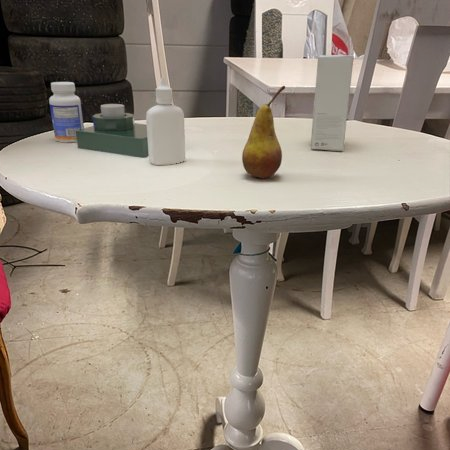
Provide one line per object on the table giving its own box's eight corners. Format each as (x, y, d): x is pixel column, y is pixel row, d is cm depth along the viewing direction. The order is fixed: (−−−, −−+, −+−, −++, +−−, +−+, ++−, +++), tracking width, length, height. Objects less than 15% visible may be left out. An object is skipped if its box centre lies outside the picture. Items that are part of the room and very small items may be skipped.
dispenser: (77, 148, 81) (73, 117, 79) (118, 137, 90) (115, 109, 87) (143, 157, 76) (140, 125, 73) (179, 145, 84) (178, 116, 82)
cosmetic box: (343, 152, 81) (356, 55, 74) (308, 150, 82) (317, 54, 75) (342, 142, 88) (354, 53, 81) (310, 140, 89) (319, 53, 82)
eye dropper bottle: (150, 159, 75) (145, 76, 69) (185, 159, 75) (183, 76, 69) (148, 165, 71) (142, 79, 65) (185, 165, 72) (182, 79, 66)
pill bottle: (62, 136, 90) (53, 80, 85) (89, 137, 89) (82, 81, 84) (50, 142, 85) (40, 83, 80) (79, 143, 85) (71, 84, 80)
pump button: (97, 118, 81) (95, 105, 80) (112, 115, 84) (110, 103, 83) (115, 120, 79) (113, 107, 78) (130, 117, 82) (128, 105, 81)
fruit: (266, 169, 70) (271, 82, 64) (287, 179, 66) (295, 86, 60) (233, 173, 68) (235, 83, 62) (253, 183, 64) (257, 87, 58)
